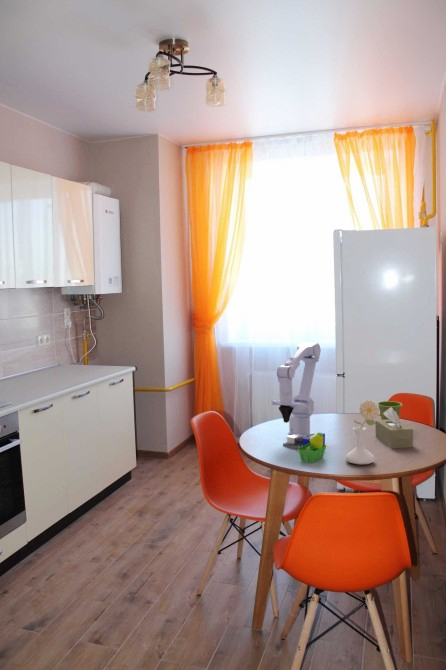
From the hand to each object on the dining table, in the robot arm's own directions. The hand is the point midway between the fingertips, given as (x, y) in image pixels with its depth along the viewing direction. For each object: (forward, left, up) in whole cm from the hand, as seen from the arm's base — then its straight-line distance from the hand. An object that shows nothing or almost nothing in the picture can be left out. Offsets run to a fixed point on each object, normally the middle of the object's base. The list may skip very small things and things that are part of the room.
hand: (286, 422), depth 246 cm
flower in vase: (+40, -3, -10) cm, 41 cm away
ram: (+5, -1, -9) cm, 11 cm away
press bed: (+10, -1, -9) cm, 14 cm away
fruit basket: (+23, -12, -10) cm, 28 cm away
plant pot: (+21, +54, -10) cm, 59 cm away
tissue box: (+35, +31, -10) cm, 48 cm away
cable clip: (+15, -1, -10) cm, 18 cm away
